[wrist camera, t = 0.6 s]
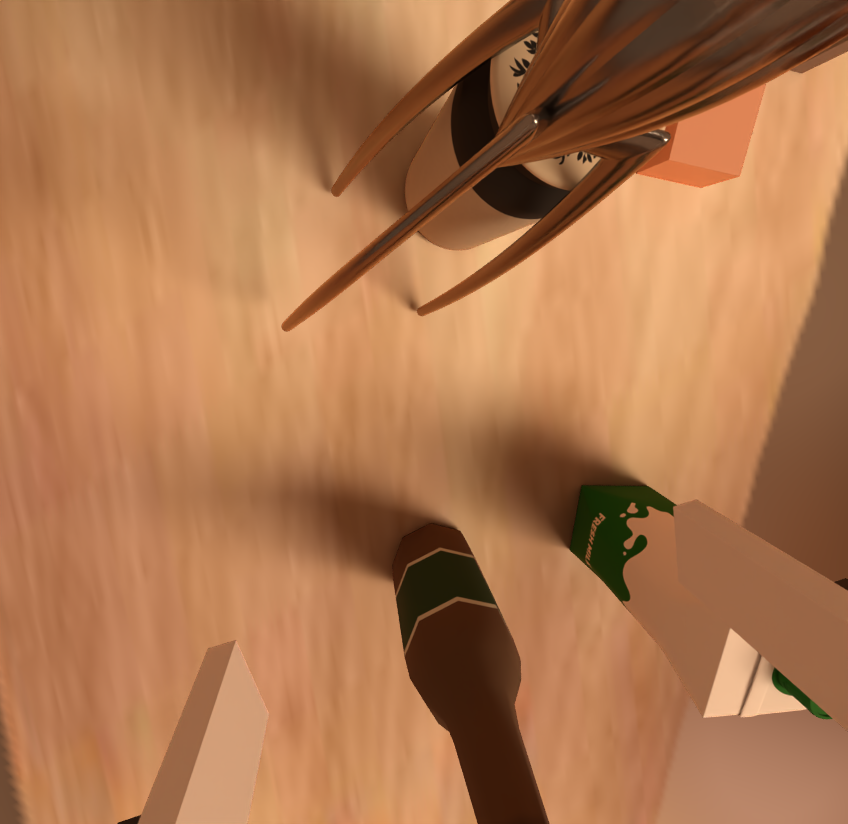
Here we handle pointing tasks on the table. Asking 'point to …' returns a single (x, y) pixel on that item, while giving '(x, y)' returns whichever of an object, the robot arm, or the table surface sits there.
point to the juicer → (591, 101)
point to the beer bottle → (466, 670)
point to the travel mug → (506, 186)
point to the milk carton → (675, 604)
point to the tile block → (708, 144)
